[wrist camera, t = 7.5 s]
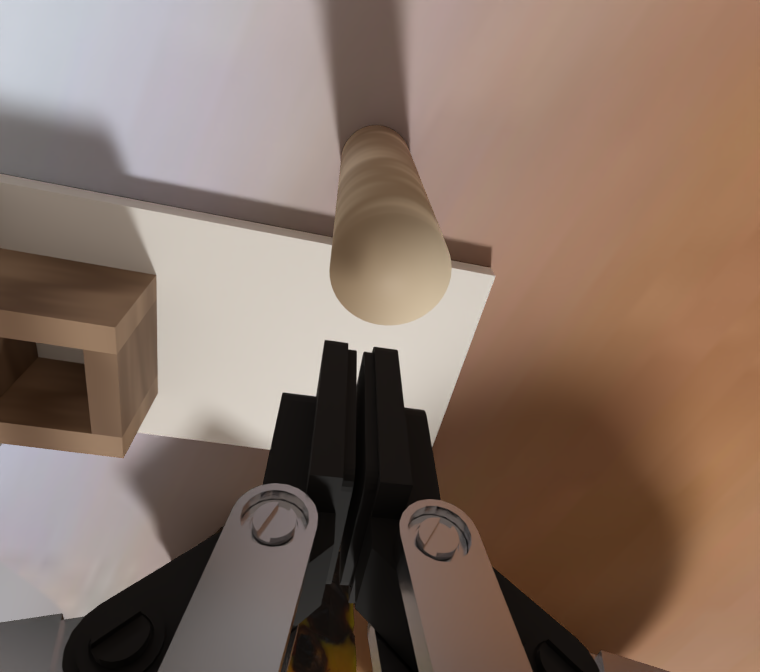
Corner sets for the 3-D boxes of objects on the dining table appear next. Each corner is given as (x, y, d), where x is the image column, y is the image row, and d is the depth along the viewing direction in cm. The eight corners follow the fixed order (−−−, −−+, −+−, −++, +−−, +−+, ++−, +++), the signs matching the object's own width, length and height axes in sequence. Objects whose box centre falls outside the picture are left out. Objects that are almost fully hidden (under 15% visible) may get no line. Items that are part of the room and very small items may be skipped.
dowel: (418, 133, 23) (467, 226, 13) (401, 202, 25) (433, 333, 14) (348, 118, 22) (340, 201, 12) (335, 189, 24) (320, 315, 14)
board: (491, 267, 26) (536, 353, 20) (422, 458, 34) (438, 569, 27) (-58, 162, 23) (-234, 223, 16) (-4, 401, 30) (-110, 514, 23)
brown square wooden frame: (156, 275, 25) (115, 327, 21) (157, 393, 29) (123, 458, 25) (-10, 246, 24) (-89, 295, 20) (14, 373, 28) (-47, 437, 23)
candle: (172, 566, 39) (120, 718, 31) (250, 499, 35) (217, 650, 27) (278, 613, 43) (259, 760, 34) (359, 557, 39) (359, 706, 31)
